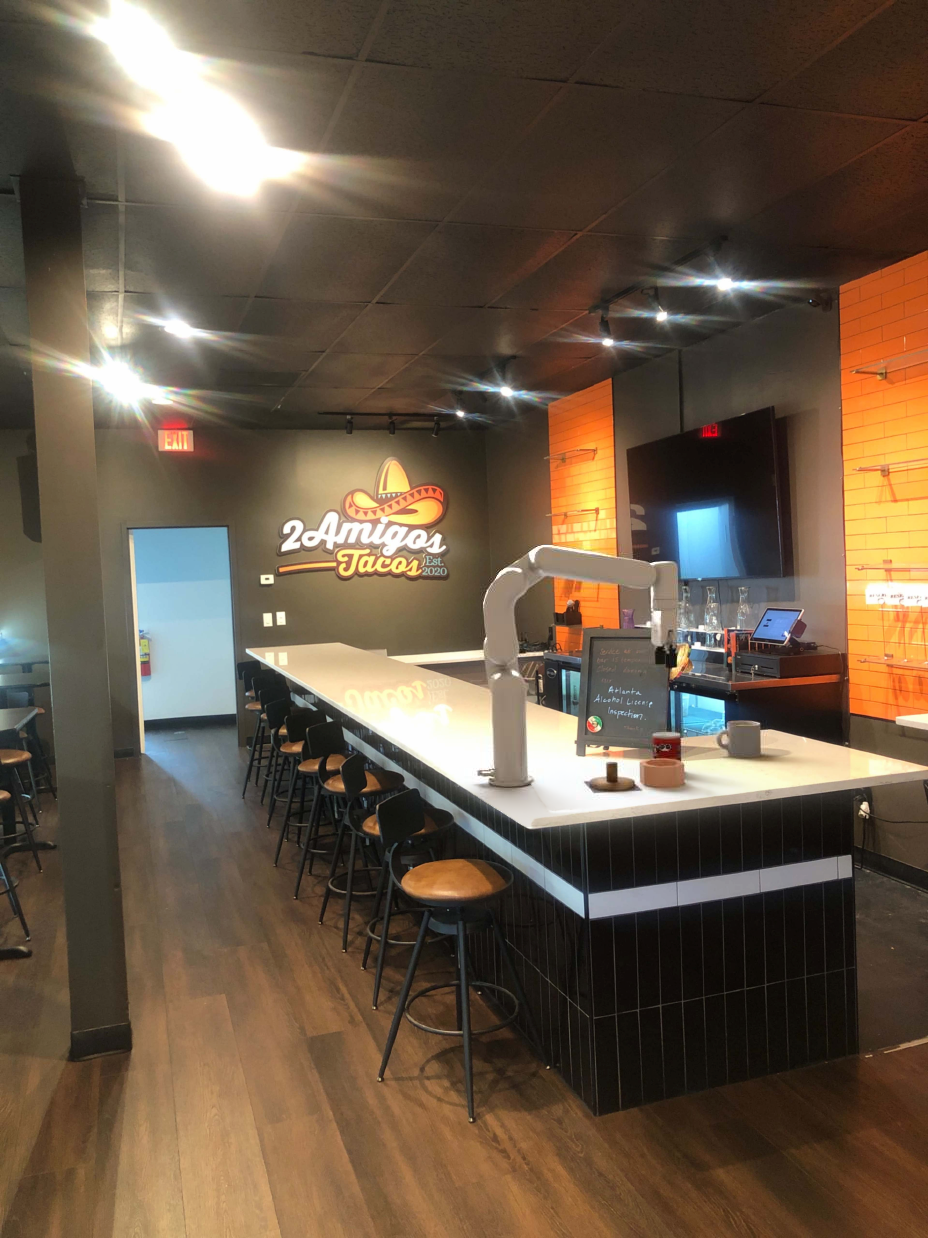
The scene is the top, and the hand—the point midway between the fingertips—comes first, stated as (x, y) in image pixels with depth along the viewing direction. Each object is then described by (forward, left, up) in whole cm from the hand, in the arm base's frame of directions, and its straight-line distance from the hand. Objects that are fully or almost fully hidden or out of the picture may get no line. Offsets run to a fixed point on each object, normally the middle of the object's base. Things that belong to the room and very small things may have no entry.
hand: (665, 666), depth 254 cm
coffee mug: (+29, +22, -31) cm, 48 cm away
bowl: (-5, -11, -31) cm, 33 cm away
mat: (-19, -12, -31) cm, 38 cm away
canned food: (+1, +4, -31) cm, 32 cm away
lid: (-19, -12, -31) cm, 38 cm away
